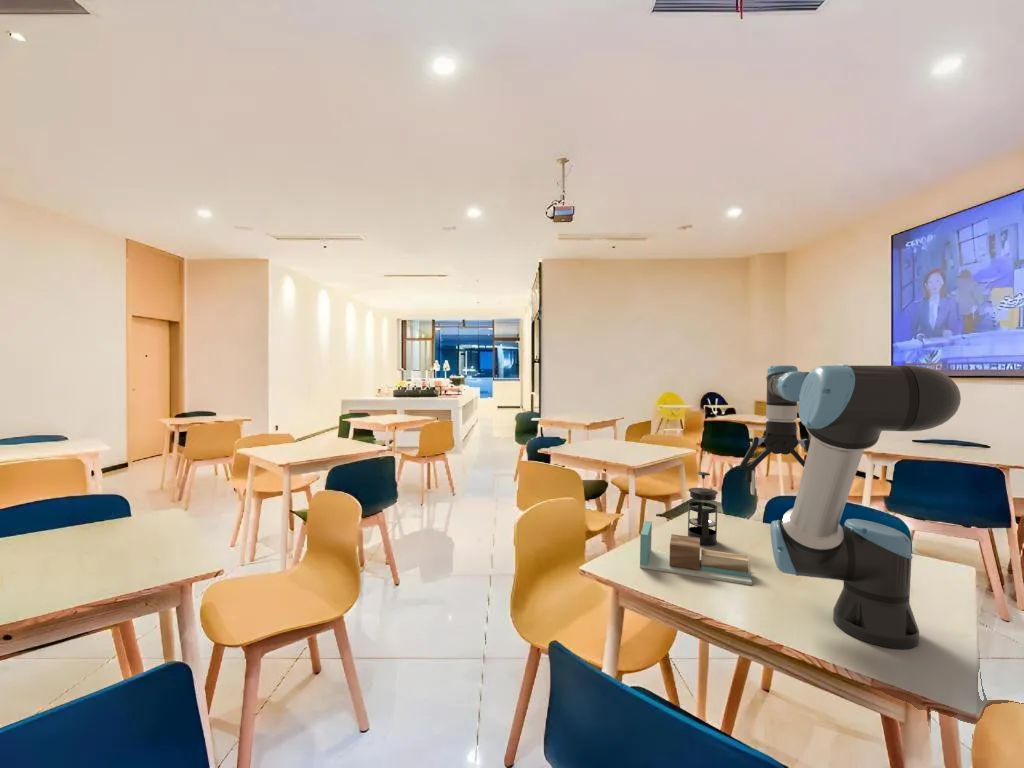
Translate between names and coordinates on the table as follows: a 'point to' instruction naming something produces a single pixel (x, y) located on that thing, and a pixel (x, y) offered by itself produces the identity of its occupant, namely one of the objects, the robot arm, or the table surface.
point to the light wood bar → (724, 560)
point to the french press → (703, 515)
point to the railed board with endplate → (662, 561)
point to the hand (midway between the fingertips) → (779, 496)
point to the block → (685, 552)
